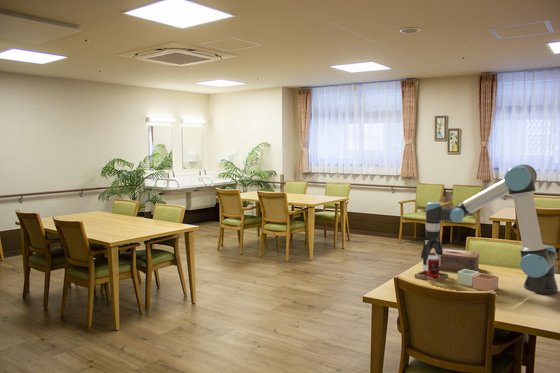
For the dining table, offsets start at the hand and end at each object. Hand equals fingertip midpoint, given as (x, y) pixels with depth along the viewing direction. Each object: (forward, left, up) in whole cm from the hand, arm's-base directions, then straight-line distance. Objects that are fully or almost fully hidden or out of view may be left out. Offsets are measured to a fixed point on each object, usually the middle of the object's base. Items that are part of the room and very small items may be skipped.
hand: (431, 268), depth 265 cm
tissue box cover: (0, -27, -6) cm, 28 cm away
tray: (0, 0, -5) cm, 5 cm away
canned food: (0, 0, -5) cm, 5 cm away
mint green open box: (-20, -2, -6) cm, 21 cm away
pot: (-30, 0, -6) cm, 30 cm away
